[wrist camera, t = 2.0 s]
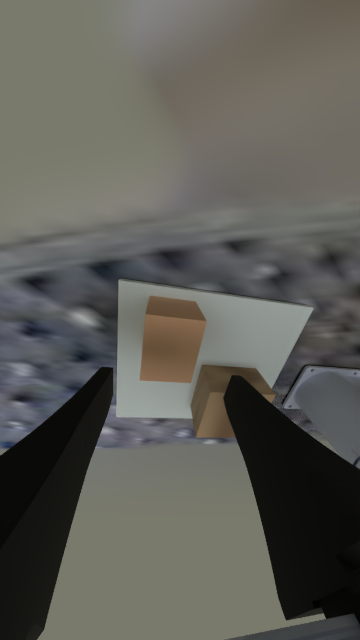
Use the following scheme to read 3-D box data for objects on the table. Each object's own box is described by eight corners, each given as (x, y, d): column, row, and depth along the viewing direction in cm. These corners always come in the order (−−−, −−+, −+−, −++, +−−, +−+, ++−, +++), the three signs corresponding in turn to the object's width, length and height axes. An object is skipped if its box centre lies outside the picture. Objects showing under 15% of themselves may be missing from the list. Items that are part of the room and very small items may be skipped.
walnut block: (256, 368, 21) (276, 395, 17) (238, 407, 23) (252, 437, 20) (201, 364, 20) (210, 392, 16) (190, 405, 22) (195, 437, 19)
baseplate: (308, 305, 18) (313, 307, 18) (252, 414, 26) (255, 419, 25) (120, 278, 15) (118, 280, 15) (117, 411, 23) (116, 416, 22)
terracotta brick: (195, 301, 16) (206, 321, 12) (184, 352, 19) (191, 383, 15) (149, 295, 15) (145, 314, 11) (144, 349, 18) (139, 380, 14)
